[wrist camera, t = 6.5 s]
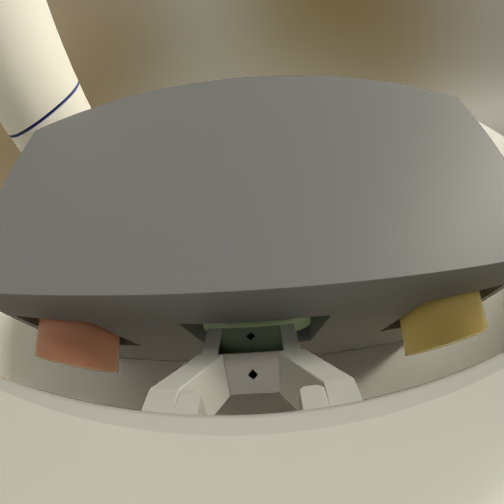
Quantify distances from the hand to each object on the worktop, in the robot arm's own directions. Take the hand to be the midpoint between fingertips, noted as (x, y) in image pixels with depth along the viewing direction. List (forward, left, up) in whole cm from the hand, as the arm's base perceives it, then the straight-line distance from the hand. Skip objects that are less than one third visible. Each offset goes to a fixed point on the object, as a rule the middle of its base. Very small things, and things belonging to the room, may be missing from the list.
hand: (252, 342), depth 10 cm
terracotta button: (+8, 0, -2) cm, 8 cm away
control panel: (0, -5, -9) cm, 11 cm away
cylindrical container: (+16, -16, -10) cm, 25 cm away
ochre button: (-8, 0, -2) cm, 9 cm away
